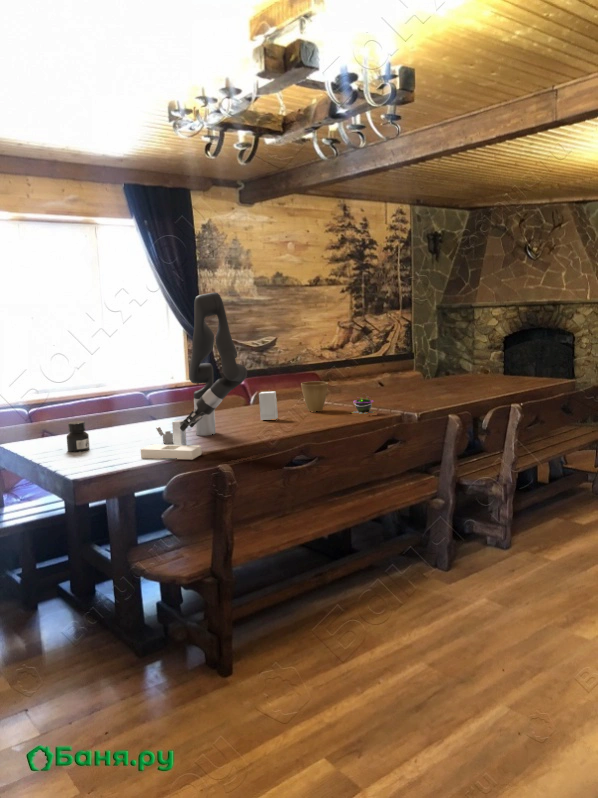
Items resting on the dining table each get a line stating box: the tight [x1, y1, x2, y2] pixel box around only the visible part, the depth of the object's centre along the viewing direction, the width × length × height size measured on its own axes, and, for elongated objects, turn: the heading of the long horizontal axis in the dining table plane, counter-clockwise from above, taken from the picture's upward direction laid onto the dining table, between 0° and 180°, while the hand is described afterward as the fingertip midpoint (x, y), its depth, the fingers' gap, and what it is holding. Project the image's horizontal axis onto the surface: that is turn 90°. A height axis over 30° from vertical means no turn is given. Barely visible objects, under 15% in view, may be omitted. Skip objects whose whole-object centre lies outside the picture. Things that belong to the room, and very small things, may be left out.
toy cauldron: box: [352, 393, 375, 414], centre depth 338 cm, size 15×15×11 cm
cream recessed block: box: [140, 444, 202, 461], centre depth 253 cm, size 9×22×4 cm, turn 75°
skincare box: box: [258, 390, 279, 421], centre depth 328 cm, size 8×6×15 cm
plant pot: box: [300, 380, 329, 413], centre depth 351 cm, size 15×15×16 cm
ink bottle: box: [66, 420, 90, 453], centre depth 269 cm, size 10×9×12 cm
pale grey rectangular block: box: [171, 419, 187, 445], centre depth 264 cm, size 5×4×12 cm
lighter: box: [155, 425, 173, 444], centre depth 277 cm, size 7×2×8 cm, turn 123°
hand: (185, 427), depth 263 cm, fingers open, 8 cm apart
